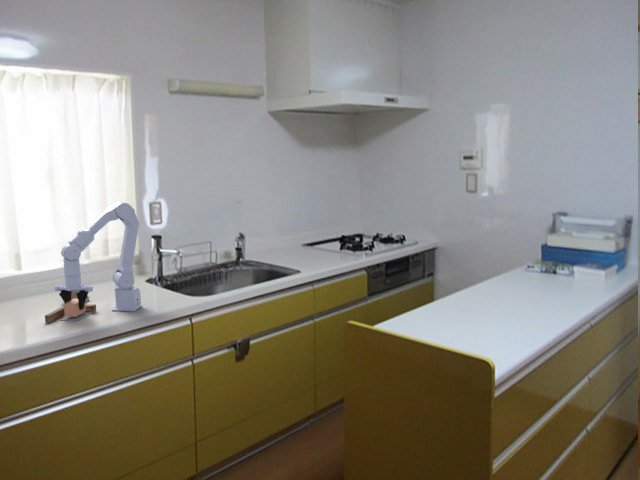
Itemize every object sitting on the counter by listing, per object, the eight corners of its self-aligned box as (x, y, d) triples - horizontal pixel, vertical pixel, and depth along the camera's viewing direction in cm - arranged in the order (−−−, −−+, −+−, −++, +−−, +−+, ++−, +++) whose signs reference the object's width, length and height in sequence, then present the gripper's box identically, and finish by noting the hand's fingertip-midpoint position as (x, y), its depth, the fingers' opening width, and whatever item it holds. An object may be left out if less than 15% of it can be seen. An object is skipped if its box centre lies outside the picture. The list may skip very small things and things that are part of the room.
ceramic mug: (61, 305, 234) (60, 287, 233) (64, 300, 242) (63, 283, 240) (88, 303, 236) (87, 286, 235) (90, 298, 244) (89, 281, 243)
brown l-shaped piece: (96, 311, 224) (95, 304, 224) (75, 323, 208) (74, 316, 208) (68, 310, 225) (67, 303, 225) (45, 323, 210) (44, 315, 209)
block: (76, 316, 213) (75, 304, 212) (64, 316, 213) (63, 304, 212) (86, 310, 221) (85, 298, 220) (75, 310, 221) (74, 298, 220)
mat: (90, 313, 222) (90, 312, 222) (77, 321, 212) (77, 319, 212) (74, 312, 223) (74, 311, 222) (60, 320, 213) (60, 319, 213)
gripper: (49, 277, 211) (52, 311, 214) (85, 277, 210) (87, 312, 212) (59, 273, 218) (62, 306, 220) (94, 273, 217) (96, 307, 219)
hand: (75, 309), depth 217 cm, fingers closed on block, 5 cm apart
